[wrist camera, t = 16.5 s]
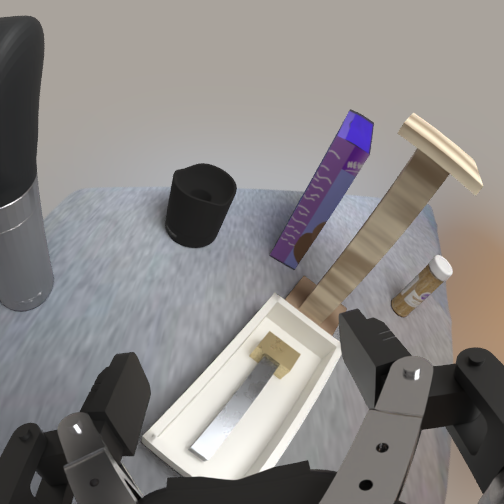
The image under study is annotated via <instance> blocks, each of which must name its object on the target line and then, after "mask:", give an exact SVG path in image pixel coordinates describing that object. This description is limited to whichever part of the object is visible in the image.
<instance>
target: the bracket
mask: <svg viewBox="0 0 504 504" xmlns="http://www.w3.org/2000/svg"><path fill="white" fill-rule="evenodd" d="M398 134H399V135H401V136H402V137H403V138H405V139H406V140H408V141H409V142H410V143H411V144H413V145H414V146H415V147H417V149H416V151H415V152H414V154H413V155H412V157H411V158H410V160H409V161H408V163H407V164H406V166H405V167H404V169H403V170H402V172H401V173H400V174H399V176H398V177H397V179H396V180H395V182H394V183H393V184H392V186H391V187H390V189H389V190H388V192H387V193H386V194H385V196H384V197H383V198H382V200H381V201H380V203H379V204H378V205H377V207H376V208H375V210H374V211H373V212H372V214H371V215H370V216H369V218H368V219H367V220H366V222H365V223H364V225H363V226H362V227H361V229H360V230H359V231H358V233H357V234H356V235H355V237H354V238H353V239H352V241H351V242H350V243H349V244H348V246H347V247H346V248H345V250H344V251H343V252H342V254H341V255H340V256H339V257H338V259H337V260H336V261H335V263H334V264H333V265H332V266H331V268H330V269H329V270H328V272H327V273H326V274H325V275H324V277H323V278H322V279H321V280H320V282H319V283H318V284H317V285H316V284H314V283H313V282H312V281H310V280H309V279H308V278H306V277H305V276H303V277H302V279H301V280H300V281H299V282H298V284H297V285H296V286H295V287H294V289H293V290H292V291H291V292H290V294H289V295H288V296H287V297H286V299H285V300H286V301H287V302H288V303H289V304H291V305H292V306H293V307H295V308H296V309H297V310H298V311H300V312H301V313H302V314H304V315H305V316H306V317H308V318H309V319H310V320H312V321H313V322H314V323H315V324H317V325H318V326H319V327H321V328H322V329H323V330H325V331H326V332H327V333H329V334H330V335H331V336H332V335H333V333H334V332H335V330H336V328H337V326H338V324H339V313H343V312H346V310H347V308H346V307H344V306H343V305H342V304H341V303H342V302H343V300H344V299H345V298H346V297H347V296H348V295H349V294H350V293H351V292H352V291H353V290H354V289H355V288H356V287H357V285H358V284H359V283H360V282H361V281H362V280H363V279H364V278H365V277H366V276H367V274H368V273H369V272H370V271H371V270H372V269H373V268H374V267H375V265H376V264H377V263H378V262H379V261H380V260H381V259H382V257H383V256H384V255H385V254H386V253H387V252H388V251H389V249H390V248H391V247H392V246H393V245H394V244H395V242H396V241H397V240H398V239H399V238H400V236H401V235H402V234H403V233H404V232H405V230H406V229H407V228H408V227H409V226H410V224H411V223H412V222H413V221H414V219H415V218H416V217H417V216H418V214H419V213H420V212H421V211H422V209H423V208H424V207H425V206H426V204H427V203H428V202H429V200H430V199H431V198H432V197H433V195H434V194H435V193H436V191H437V190H438V189H439V187H440V186H441V185H442V183H443V182H444V181H445V179H446V178H447V177H448V175H449V174H451V175H452V176H453V177H455V178H456V179H457V180H458V181H459V182H460V183H461V184H463V185H464V186H465V187H466V188H467V189H468V190H469V191H471V192H472V193H473V194H474V195H475V196H476V195H477V194H478V193H479V191H480V190H481V189H482V188H483V184H482V181H481V178H480V175H479V172H478V169H477V166H476V163H475V161H474V160H473V159H472V158H471V157H470V156H469V155H468V154H466V153H465V152H464V151H463V150H462V149H460V148H459V147H458V146H457V145H456V144H454V143H453V142H452V141H450V140H449V139H448V138H447V137H445V136H444V135H443V134H442V133H441V132H439V131H438V130H437V129H435V128H434V127H433V126H431V125H430V124H429V123H427V122H426V121H425V120H423V119H422V118H420V117H419V116H418V115H416V114H415V113H413V114H412V115H411V116H410V117H409V118H408V119H407V120H406V121H405V122H404V124H403V125H402V127H401V128H400V130H399V132H398Z"/></svg>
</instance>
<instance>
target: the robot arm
mask: <svg viewBox="0 0 504 504" xmlns="http://www.w3.org/2000/svg"><path fill="white" fill-rule="evenodd" d="M43 60H44V33H43V29H42V26H41V24H40V22H39V21H38V20H37V19H36V18H34V17H31V16H13V17H3V18H0V301H1V303H2V304H3V305H5V306H6V307H7V308H10V309H12V310H16V311H27V310H30V309H33V308H35V307H37V306H39V305H40V304H41V303H43V302H44V301H45V300H46V298H47V297H48V296H49V294H50V292H51V291H52V288H53V284H54V276H53V270H52V266H51V261H50V256H49V251H48V246H47V240H46V235H45V229H44V223H43V217H42V210H41V203H40V195H39V187H38V177H37V165H36V155H37V142H38V110H39V96H40V86H41V78H42V69H43ZM339 331H340V344H341V352H342V356H343V359H344V362H345V364H346V366H347V368H348V370H349V371H350V373H351V375H352V377H353V379H354V381H355V383H356V385H357V387H358V389H359V391H360V393H361V395H362V397H363V399H364V400H365V402H366V404H367V406H368V408H369V411H368V412H367V414H366V416H365V418H364V421H363V423H362V425H361V427H360V429H359V431H358V433H357V435H356V437H355V440H354V442H353V444H352V446H351V448H350V450H349V451H348V453H347V455H346V457H345V459H344V461H343V463H342V465H341V467H340V469H339V470H338V472H335V471H329V470H320V469H310V466H309V462H308V460H307V461H303V462H298V463H293V464H288V465H283V466H278V467H272V468H270V469H267V470H264V471H262V472H259V473H256V474H253V475H250V476H247V477H244V478H241V479H238V480H227V479H218V478H210V477H202V476H197V477H176V478H168V480H167V487H166V488H162V489H159V490H156V491H154V492H151V493H149V494H148V495H146V496H144V495H143V494H142V492H141V491H140V489H139V488H138V486H137V485H136V483H135V482H134V480H133V479H132V477H131V476H130V474H129V473H128V471H127V469H126V468H125V466H124V465H123V463H122V462H121V459H122V456H134V454H135V450H136V447H137V443H138V439H139V435H140V432H141V428H142V424H143V421H144V417H145V413H146V410H147V406H148V403H149V399H150V395H151V391H150V385H149V382H148V380H147V378H146V375H145V373H144V371H143V369H142V367H141V364H140V362H139V360H138V357H137V356H136V354H135V353H134V352H129V353H121V354H116V355H115V356H114V358H113V360H112V362H111V364H110V366H109V367H106V368H105V369H104V370H103V371H102V372H101V373H100V374H99V375H98V377H97V379H96V381H95V383H94V385H93V386H92V388H91V392H89V394H88V396H87V398H86V400H85V402H84V404H83V406H82V408H81V410H80V412H77V413H73V414H70V415H68V416H67V417H65V418H64V419H63V420H62V421H61V422H60V423H59V425H58V429H57V430H54V431H49V432H45V433H43V432H42V430H41V429H40V428H39V426H38V425H37V424H35V423H27V424H24V425H22V426H20V427H19V428H17V429H16V430H15V431H14V433H13V434H12V436H11V438H10V440H9V442H8V444H7V446H6V447H5V449H4V451H3V453H2V455H1V457H0V504H71V503H72V499H73V496H74V497H75V499H76V501H77V504H406V503H403V502H401V501H399V498H400V495H401V493H402V490H403V487H404V485H405V482H406V479H407V476H408V473H409V470H410V467H411V464H412V461H413V458H414V455H415V451H416V448H417V445H418V441H419V438H420V434H421V431H422V430H423V429H431V428H438V427H444V426H445V427H446V429H447V430H448V432H449V434H450V435H451V437H452V439H453V441H454V442H455V444H456V446H457V447H458V449H459V451H460V453H461V454H462V456H463V458H464V460H465V462H466V463H467V465H468V467H469V469H470V470H471V472H472V474H473V476H474V478H475V479H476V482H477V483H478V485H479V487H480V489H481V491H482V493H483V495H482V497H481V498H480V500H479V502H478V504H504V365H503V364H502V363H501V362H500V361H499V360H498V359H497V358H496V357H495V356H494V355H493V354H492V353H491V352H489V351H488V350H486V349H482V348H468V349H465V350H463V351H462V352H460V354H459V355H458V356H457V360H456V364H450V365H443V366H432V364H431V363H430V362H429V361H428V360H427V359H425V358H422V357H418V356H412V355H411V354H410V353H409V352H408V351H407V349H406V348H405V347H404V346H403V345H402V343H401V342H400V341H399V340H398V339H397V337H395V335H394V334H393V333H392V332H391V331H390V329H389V328H388V327H387V326H386V325H385V323H384V322H382V321H380V320H378V319H375V318H370V319H366V318H365V317H364V315H363V314H362V313H361V312H360V310H359V309H354V310H351V311H347V312H343V313H339ZM35 471H36V472H37V473H38V474H39V475H40V476H41V477H42V480H41V483H40V485H39V488H38V491H37V494H36V496H35V497H34V496H33V495H32V493H31V490H30V484H31V481H32V478H33V476H34V473H35Z"/></svg>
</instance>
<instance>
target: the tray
mask: <svg viewBox="0 0 504 504" xmlns="http://www.w3.org/2000/svg"><path fill="white" fill-rule="evenodd" d="M269 331H270V332H272V333H273V334H274V335H276V336H277V337H278V338H280V339H281V340H282V341H284V342H285V343H286V344H288V345H289V346H290V347H292V348H293V349H294V350H296V351H297V352H298V353H300V354H301V355H300V357H299V358H298V360H297V361H296V363H295V364H294V366H293V368H292V369H291V371H290V372H289V373H287V374H286V375H285V376H284V377H283V378H281V379H279V378H277V377H276V376H275V375H272V377H271V378H270V379H269V381H268V382H267V384H266V385H265V386H264V388H263V389H262V391H261V392H260V393H259V395H258V396H257V398H256V399H255V400H254V402H253V403H252V404H251V406H250V407H249V408H248V410H247V411H246V412H245V414H244V415H243V416H242V418H241V419H240V420H239V422H238V423H237V424H236V426H235V427H234V428H233V430H232V431H231V432H230V433H229V435H228V436H227V437H226V439H225V440H224V441H223V442H222V444H221V445H220V446H219V447H218V449H217V450H216V451H215V452H214V454H213V455H212V456H211V457H210V459H209V460H207V461H203V460H201V459H200V458H199V457H197V456H196V455H194V454H193V453H192V452H190V451H189V450H188V449H189V447H190V446H191V445H192V444H193V443H194V442H195V440H196V439H197V438H198V437H199V436H200V434H201V433H202V432H203V431H204V430H205V429H206V427H207V426H208V425H209V424H210V422H211V421H212V420H213V419H214V418H215V416H216V415H217V414H218V413H219V412H220V410H221V409H222V408H223V407H224V405H225V404H226V403H227V402H228V400H229V399H230V398H231V397H232V395H233V394H234V393H235V392H236V390H237V389H238V388H239V387H240V385H241V384H242V383H243V381H244V380H245V379H246V378H247V376H248V375H249V374H250V372H251V371H252V370H253V368H254V367H255V366H256V365H257V362H256V361H255V360H253V359H252V358H251V357H249V356H250V354H251V353H252V352H253V351H254V349H255V348H256V347H257V346H258V344H259V343H260V342H261V341H262V339H263V338H264V337H265V336H266V334H267V333H268V332H269ZM341 354H342V352H341V344H340V342H339V341H338V340H336V339H335V338H334V337H332V336H331V335H330V334H329V333H327V332H326V331H325V330H323V329H322V328H321V327H319V326H318V325H317V324H315V323H314V322H313V321H312V320H310V319H309V318H308V317H306V316H305V315H304V314H302V313H301V312H300V311H298V310H297V309H296V308H295V307H293V306H292V305H291V304H289V303H288V302H287V301H286V300H284V299H283V298H282V297H280V296H279V295H278V294H276V293H274V294H273V295H272V297H271V298H270V299H269V300H268V301H267V302H266V303H265V305H264V306H263V307H262V308H261V309H260V310H259V311H258V313H257V314H256V315H255V316H254V317H253V318H252V319H251V320H250V322H249V323H248V324H247V325H246V326H245V327H244V328H243V329H242V331H241V332H240V333H239V334H238V335H237V336H236V337H235V338H234V339H233V341H232V342H231V343H230V344H229V345H228V346H227V347H226V348H225V349H224V351H223V352H222V353H221V354H220V355H219V356H218V357H217V358H216V359H215V360H214V361H213V363H212V364H211V365H210V366H209V367H208V368H207V369H206V370H205V371H204V372H203V373H202V374H201V376H200V377H199V378H198V379H197V380H196V381H195V382H194V383H193V384H192V385H191V386H190V387H189V388H188V389H187V390H186V392H185V393H184V394H183V395H182V396H181V397H180V398H179V399H178V400H177V401H176V402H175V403H174V404H173V405H172V406H171V407H170V408H169V409H168V410H167V411H166V412H165V414H164V415H163V416H162V417H161V418H160V419H159V420H158V421H157V422H156V423H155V424H154V425H153V426H152V427H151V428H150V429H149V430H148V431H147V432H146V433H145V434H144V435H143V436H142V441H141V442H142V443H143V444H144V445H145V446H146V447H147V448H149V449H150V450H151V451H152V452H153V453H154V454H156V455H157V456H158V457H159V458H161V459H162V460H163V461H164V462H165V463H167V464H168V465H169V466H171V467H172V468H173V469H174V470H176V471H177V472H178V473H180V474H181V475H182V476H184V477H197V476H202V477H210V478H218V479H227V480H238V479H241V478H244V477H247V476H250V475H253V474H256V473H259V472H262V471H264V470H267V469H270V468H272V467H274V466H275V464H276V463H277V461H278V460H279V458H280V457H281V455H282V454H283V452H284V451H285V449H286V448H287V446H288V445H289V443H290V442H291V440H292V439H293V437H294V435H295V434H296V432H297V431H298V429H299V428H300V426H301V424H302V423H303V421H304V419H305V418H306V416H307V414H308V413H309V411H310V409H311V408H312V406H313V404H314V403H315V401H316V399H317V398H318V396H319V394H320V392H321V391H322V389H323V387H324V385H325V383H326V382H327V380H328V378H329V376H330V374H331V373H332V371H333V369H334V367H335V365H336V363H337V361H338V360H339V358H340V356H341Z"/></svg>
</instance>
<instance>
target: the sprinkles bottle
mask: <svg viewBox="0 0 504 504" xmlns="http://www.w3.org/2000/svg"><path fill="white" fill-rule="evenodd" d="M452 273H453V271H452V268H451V265H450V264H449V263H448V261H447V260H446V259H445V258H444V257H442V256H440V255H436V256H435V257H434V258H433V259H432V260H431V261H430V262H429V264H428V265H427V266H426V267H425V268H424V269H423V270H422V271H421V272H420V273H419V274H418V275H417V276H416V277H415V278H414V279H413V280H412V281H411V282H410V283H409V284H408V285H407V286H406V287H405V288H404V289H403V290H402V291H401V292H400V293H399V294H398V295H397V296H396V297H395V298H393V300H392V308H393V310H394V311H395V312H396V313H397V314H398V315H399V316H402V317H406V316H407V315H408V314H409V313H410V312H411V311H412V310H413V309H415V308H416V307H417V306H418V305H420V304H421V303H422V302H423V301H424V300H425V299H426V298H427V297H428V296H429V295H430V294H431V293H432V292H433V291H434V290H435V289H436V288H437V287H438V286H439V285H441V284H442V283H443V282H444V281H446V280H447V279H448V278H449V277H450V276H451V275H452Z"/></svg>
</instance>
